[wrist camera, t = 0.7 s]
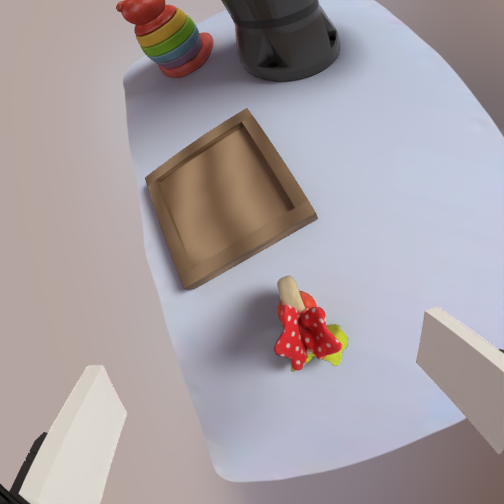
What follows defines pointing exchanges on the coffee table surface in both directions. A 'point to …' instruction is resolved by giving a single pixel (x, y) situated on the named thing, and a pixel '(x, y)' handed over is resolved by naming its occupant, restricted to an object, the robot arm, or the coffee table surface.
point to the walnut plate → (225, 200)
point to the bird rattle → (306, 328)
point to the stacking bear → (167, 35)
